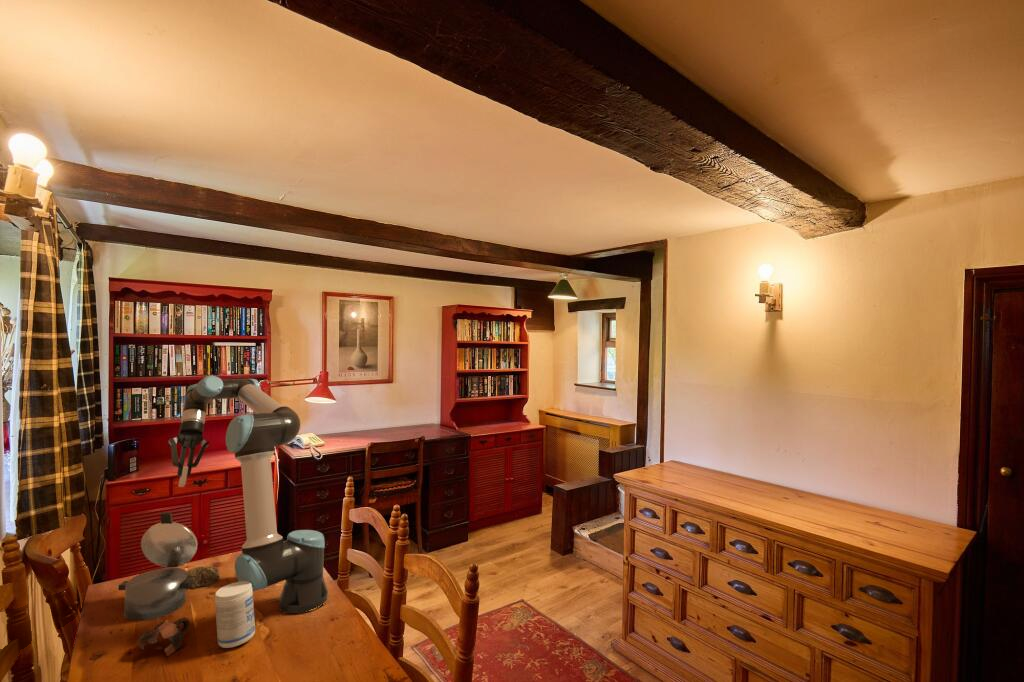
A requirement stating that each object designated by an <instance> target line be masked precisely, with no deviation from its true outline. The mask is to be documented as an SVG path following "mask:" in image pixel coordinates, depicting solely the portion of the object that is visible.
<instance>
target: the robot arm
mask: <svg viewBox="0 0 1024 682" xmlns="http://www.w3.org/2000/svg"><path fill="white" fill-rule="evenodd" d="M184 396H185V397H184V404H183V410H182V414H181V420H180V424H179V431H178V434H177V435H176V436H175V437H173V438H172V437H171V438H169V440H168V441H167V443H168V445H169V446H170V452H171V453H170V454H171V461H172V462H171V463H172V466H173V467H176V468H177V472H176V473H177V474H176V476H177V477H178V478H179V481H178V482H179V483H178V488H184V487H185V485H186V483H187V478H190V476H191V474H192V473H191V472H192V468H196V467H198V465H199V463H200V461H201V459H202V456H203V455H204V452H205V450H206V448H208V447H209V445H210V443H211V442H210V441H209V440H207V441H206V440H205V439H204V430H205V429H204V428H205V423H206V416H207V409H208V405H209V403H211V401H213V400H225V399H229V400H230V399H238V400H239V401H241V402H242V403H243V404H244V405H246V406H247V407H248V409H250V410H251V411H253V412H254V413H247V414H242V415H237V416H235V417H234V418H233V419H232V420H231V421H230V422H229V424H228V426H227V429H226V434H225V446H226V447H227V448H226V450H227V451H228V452H229V453H232V454H234V459H235V460H237V461H238V462H239V463H240V469H241V481H242V496H243V508H244V518H245V519H244V520H245V534H246V540H245V542H244V543H243V544H242V546H241V553H240V554H239V555H237V556H236V558H235V562H234V571H235V575H236V578H237V580H238V581H237V582H240V581H248V582H250V583H251V584H252V590H253V592H255V591H258V590H264V589H266V588H269V587H270V586H273V585H276V584H278V583H280V582H283V581H285V582H284V585H283V587H282V590H281V592H280V596H279V599H278V609H279V610H280V612H282V613H285V614H286V613H287V614H290V613H300V614H303V613H302V612H306V611H309V610H311V609H314V608H316V607H318V606H320V605H321V604H323V603H324V602H325V601H326V600H327V601H328V599H327V597H329V593H328V587H327V584H326V581H325V578H324V561H325V559H324V558H325V547H326V546H325V544H326V543H325V536H324V534H323V533H322V532H320V531H318V530H313V529H297V530H293V531H291V532H289V533H288V534H287V537H286V540H284V537H283V536H282V535H281V534H279V533H278V531H277V530H278V529H277V516H276V506H275V497H274V496H275V495H274V483H273V481H274V480H273V471H272V462H271V460H272V459H271V458H272V457H273V455H274V454H275V453H276V448H275V447H281V446H284V445H287V444H289V443H291V442H292V441H293V440H294V439H296V437H297V436H298V434H299V432H300V429H301V420H300V417H299V414H298V413H297V412H296V411H295V410H293V409H292V408H291V407H289V406H285V405H284V406H283V405H282V404H281V403H279V402H278V401H276V400H275V399H274V398H272V397H271V396H270V395H269V394H267V393H266V392H265V391H263V390H262V389H261V385H260V382H259V380H257V379H255V378H228V379H223V378H222V379H221V378H220V377H219V376H216V375H211V374H210V375H206V376H205V377H203V378H202V379H201V380H199V381H198V382H197V383H195V384H194V383H193V384H191V385H189V386H188V387H187V389H186V393H185V395H184ZM177 442H178V443H177ZM177 444H179V446H180V447H181V449H180V455H179V456H178V447H177ZM198 445H200V446H201V448H199V451H198V454H197V455H196V458H195V459H194V457H195V451H196V448H197V446H198ZM188 449H189V450H188ZM187 451H189V452H188V457H187V463H186V466H185V459H186V455H187ZM327 601H326V602H327ZM306 613H307V612H306Z"/></svg>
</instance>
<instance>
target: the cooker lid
mask: <svg viewBox="0 0 1024 682" xmlns="http://www.w3.org/2000/svg"><path fill="white" fill-rule="evenodd" d="M159 515H160V516H159V517H160V522H158V523H156V524H153V525H152V526H151V527H149V528H148V529H146V531H145V532H144V534H143V535H142V537H141V540H140V548H141V551H142V553H143V555H144V556H145V558H146V559H147V560H149V561H150V562H151V563H153V564H155V565H156V566H160V567H162V568H163V567H164V568H179V567H182V566H184V565H185V564H187V563H188V562H190V561H191V560H192V559H193V557H195V555H196V553H197V550H198V539H197V537H196V535H195V533H194V532H193V531H192V530H191V529H190V528H189V527H187V526H186V525H184V524H183V523H179V522H177V521H176V522H175V521H173V513H172V512H161V513H160V514H159Z"/></svg>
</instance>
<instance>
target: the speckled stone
mask: <svg viewBox="0 0 1024 682" xmlns="http://www.w3.org/2000/svg"><path fill="white" fill-rule="evenodd" d="M185 571H186V572H187V576H186V579H194V583H193V585H192V586H190V587H189V588H190V589H189V590H191V589H195V588H199V587H210V586H212V585H214V584H215V583H216V582H217V581H218V580H220V578H221V574H220V573H219V569H218V568H217V567H215V566H213V565H209V566H206V565H205V566H196V567H194V568H193V567H192V568H190V569H189V570H185ZM214 582H215V583H214ZM213 583H214V584H213Z"/></svg>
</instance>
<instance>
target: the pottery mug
mask: <svg viewBox="0 0 1024 682" xmlns="http://www.w3.org/2000/svg"><path fill="white" fill-rule="evenodd" d="M190 622H191V621H190V620H189V618H187V617H182V618H179V619H178V620H176V621H174V622H169V620H168V619H166V620H165V619H164V620H163V621H161V622H160V623H158V624H157V625H155V626H154V627H153V630H152V631H150V630H147V631H146V632H145V633H144V634H142V635H141V636H140V637H139V638H138V640H139V642H140V644H139V648H140V649H142V650H145V648H146V644H147V643H149V644H151V645H155V644H156V643H158V640H159V638H158V636H159V634H160V635H161V638H162V639H165V640H167V639H168V640H169V642H170V644H169V645H168V646H166V647H165V648H164V649H163V650H164V653H165V656H167V657H169V656H171V655H173V653H174V652H176V651H177V650H179V649H180V648H181V647H182V644H183V640H182V638H183V636H184V635H185V634H186V633H187V632H188V630H189V628H190V626H191V623H190ZM181 624H183V625H182V629H180V626H181Z"/></svg>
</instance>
